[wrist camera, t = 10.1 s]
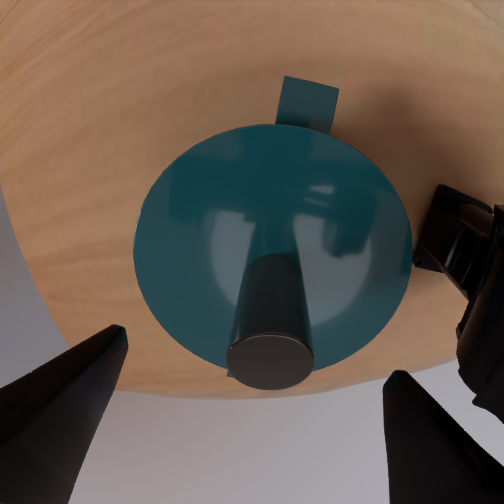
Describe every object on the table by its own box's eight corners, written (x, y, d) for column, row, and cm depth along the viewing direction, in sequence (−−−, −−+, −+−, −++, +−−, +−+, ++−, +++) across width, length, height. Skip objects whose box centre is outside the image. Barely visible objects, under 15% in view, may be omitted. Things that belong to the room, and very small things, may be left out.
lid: (436, 170, 11) (524, 211, 5) (349, 372, 17) (364, 451, 11) (151, 107, 11) (59, 105, 5) (147, 337, 17) (110, 412, 11)
